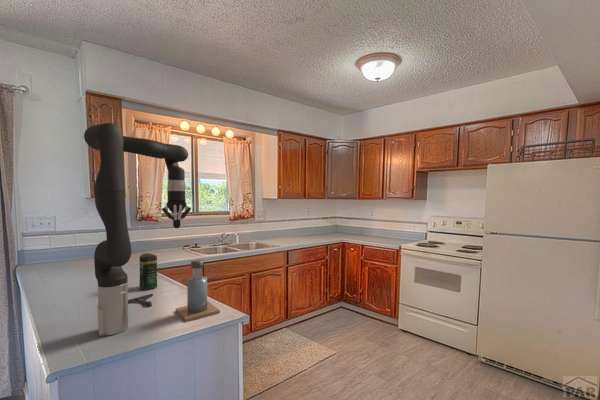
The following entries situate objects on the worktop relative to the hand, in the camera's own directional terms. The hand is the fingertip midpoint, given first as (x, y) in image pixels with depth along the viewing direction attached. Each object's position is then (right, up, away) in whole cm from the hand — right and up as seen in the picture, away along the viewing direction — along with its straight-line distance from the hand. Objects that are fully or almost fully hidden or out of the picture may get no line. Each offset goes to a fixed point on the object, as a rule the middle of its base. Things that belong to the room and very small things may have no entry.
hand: (176, 228), depth 132 cm
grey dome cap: (+14, -21, -10) cm, 27 cm away
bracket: (-17, -36, +2) cm, 40 cm away
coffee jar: (-26, -35, +24) cm, 50 cm away
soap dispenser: (+13, -35, -9) cm, 38 cm away
